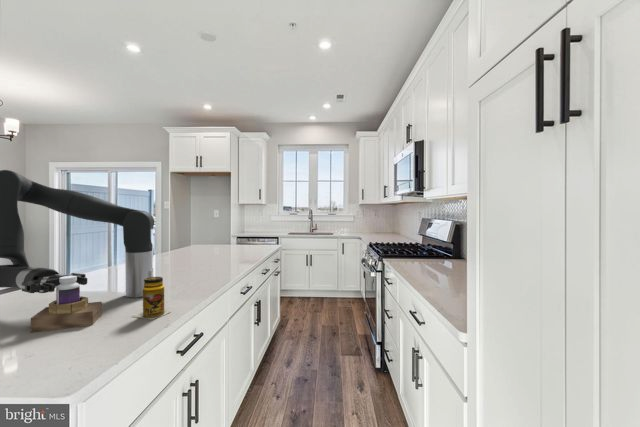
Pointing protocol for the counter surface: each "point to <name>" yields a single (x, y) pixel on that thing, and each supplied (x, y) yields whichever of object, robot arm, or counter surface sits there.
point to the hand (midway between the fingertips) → (70, 284)
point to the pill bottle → (67, 290)
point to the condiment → (153, 299)
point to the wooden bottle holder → (66, 315)
